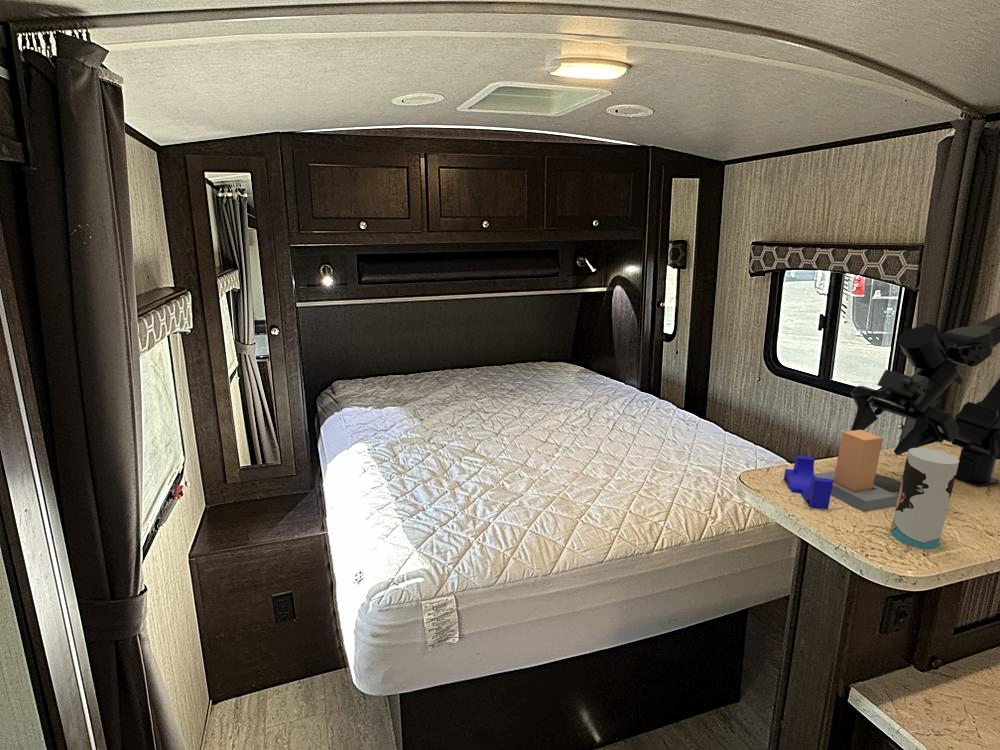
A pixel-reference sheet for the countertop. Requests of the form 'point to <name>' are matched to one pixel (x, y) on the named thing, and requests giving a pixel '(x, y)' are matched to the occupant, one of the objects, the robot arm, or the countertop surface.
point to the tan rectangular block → (857, 460)
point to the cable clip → (808, 483)
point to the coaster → (887, 483)
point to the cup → (924, 497)
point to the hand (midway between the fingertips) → (872, 444)
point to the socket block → (861, 495)
